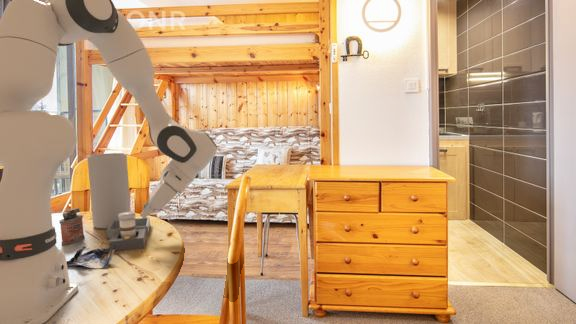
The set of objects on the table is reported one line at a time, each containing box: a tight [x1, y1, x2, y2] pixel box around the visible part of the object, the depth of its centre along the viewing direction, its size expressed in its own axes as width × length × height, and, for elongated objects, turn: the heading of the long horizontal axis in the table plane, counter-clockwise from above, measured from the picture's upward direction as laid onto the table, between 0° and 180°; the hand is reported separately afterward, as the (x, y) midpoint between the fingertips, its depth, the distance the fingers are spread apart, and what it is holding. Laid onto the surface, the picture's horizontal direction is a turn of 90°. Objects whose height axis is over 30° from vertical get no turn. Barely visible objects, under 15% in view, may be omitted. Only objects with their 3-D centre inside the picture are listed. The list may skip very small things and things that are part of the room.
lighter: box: [59, 207, 85, 247], centre depth 119 cm, size 8×3×10 cm, turn 168°
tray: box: [106, 216, 151, 240], centre depth 128 cm, size 12×12×3 cm
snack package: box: [66, 245, 115, 270], centre depth 100 cm, size 12×6×12 cm
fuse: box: [118, 211, 137, 238], centre depth 115 cm, size 5×5×10 cm
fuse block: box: [109, 229, 147, 252], centre depth 115 cm, size 10×9×4 cm
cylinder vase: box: [86, 152, 132, 230], centre depth 137 cm, size 12×12×25 cm
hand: (143, 212), depth 115 cm, fingers open, 8 cm apart
